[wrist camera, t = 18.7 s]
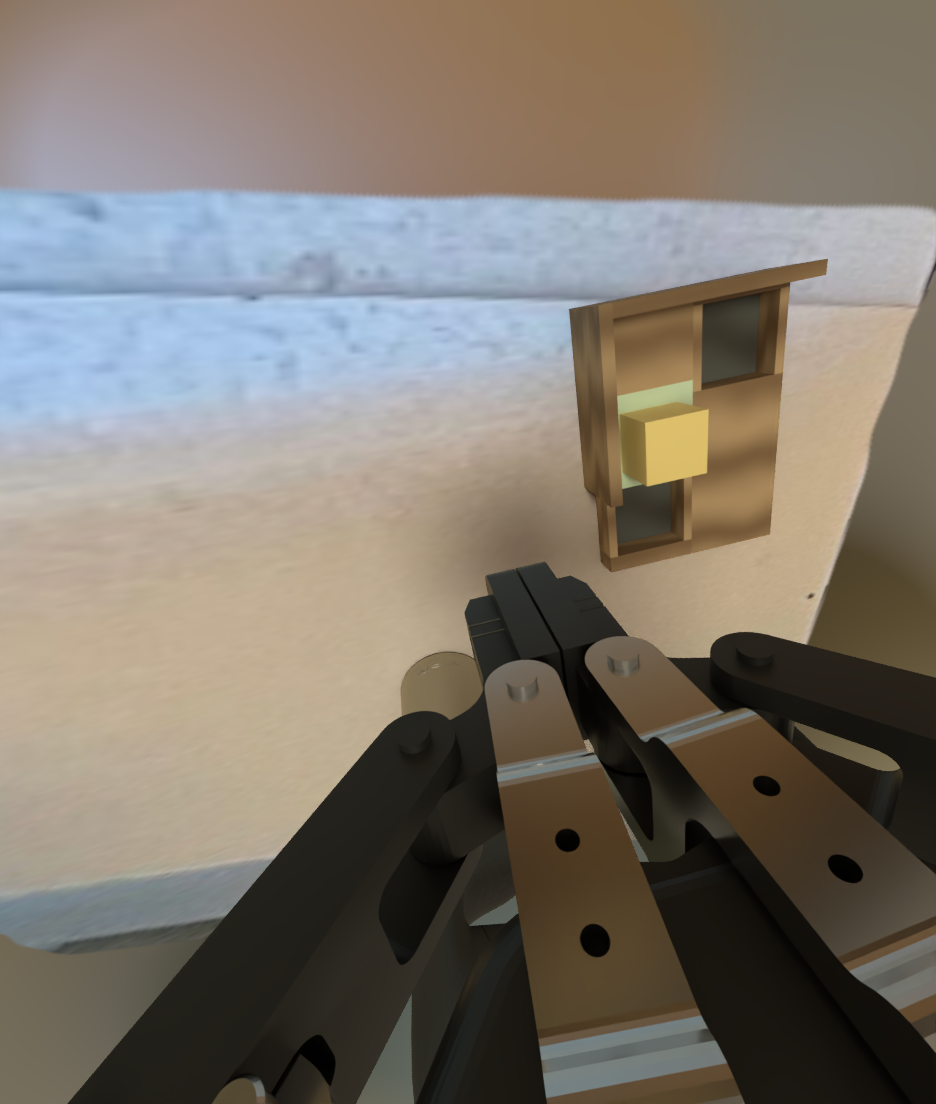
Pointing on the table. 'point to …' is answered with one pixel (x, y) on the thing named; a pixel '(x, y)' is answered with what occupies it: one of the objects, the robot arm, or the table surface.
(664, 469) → the block
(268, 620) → the table surface
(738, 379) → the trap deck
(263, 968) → the robot arm
